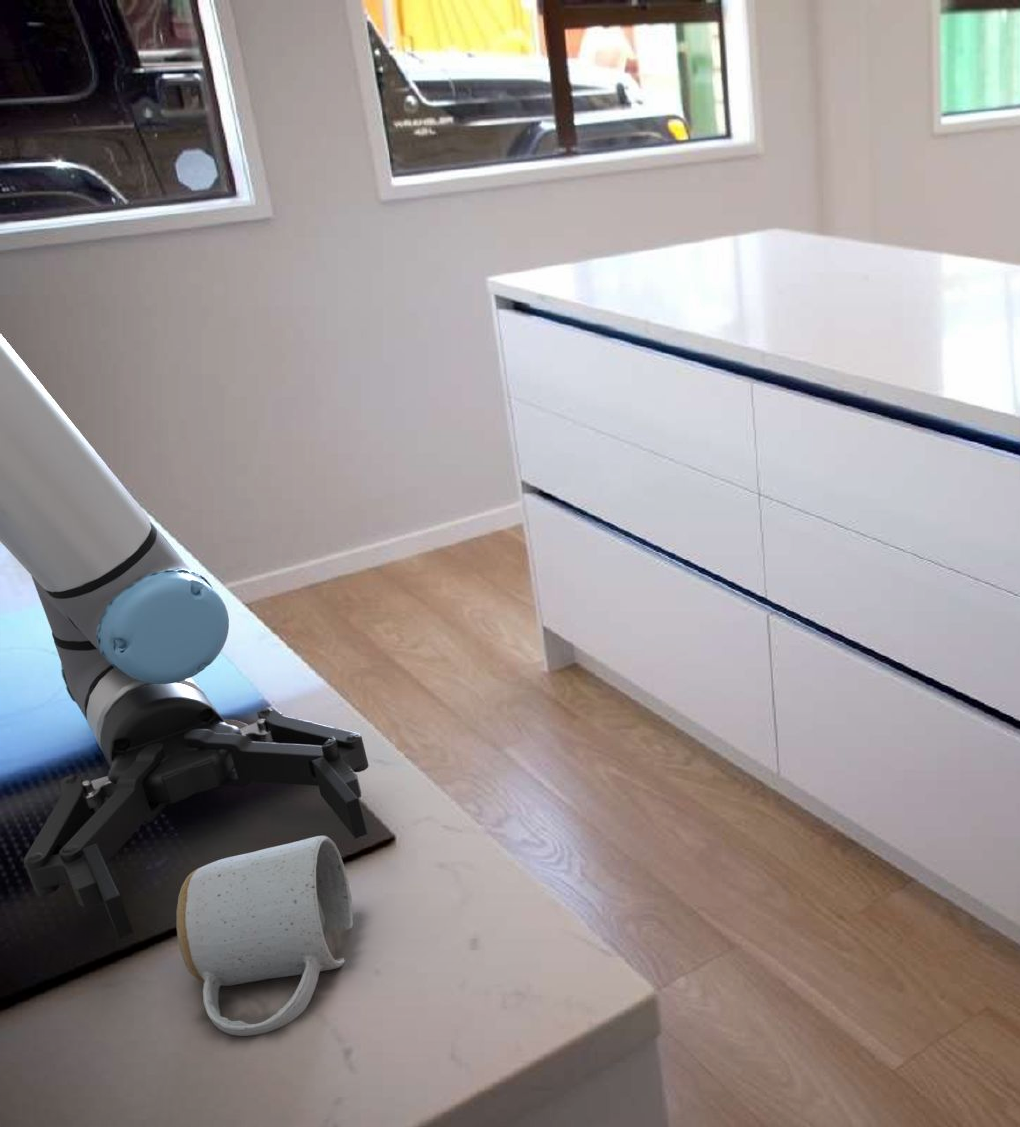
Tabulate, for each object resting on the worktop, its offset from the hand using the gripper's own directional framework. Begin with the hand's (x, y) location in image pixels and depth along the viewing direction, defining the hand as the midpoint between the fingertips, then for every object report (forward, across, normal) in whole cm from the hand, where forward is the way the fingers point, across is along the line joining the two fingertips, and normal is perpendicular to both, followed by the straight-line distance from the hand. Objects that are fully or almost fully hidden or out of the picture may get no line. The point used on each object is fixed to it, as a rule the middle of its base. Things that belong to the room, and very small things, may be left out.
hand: (244, 865), depth 76 cm
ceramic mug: (+4, 0, -6) cm, 7 cm away
